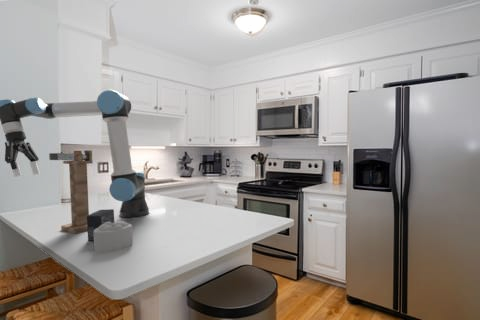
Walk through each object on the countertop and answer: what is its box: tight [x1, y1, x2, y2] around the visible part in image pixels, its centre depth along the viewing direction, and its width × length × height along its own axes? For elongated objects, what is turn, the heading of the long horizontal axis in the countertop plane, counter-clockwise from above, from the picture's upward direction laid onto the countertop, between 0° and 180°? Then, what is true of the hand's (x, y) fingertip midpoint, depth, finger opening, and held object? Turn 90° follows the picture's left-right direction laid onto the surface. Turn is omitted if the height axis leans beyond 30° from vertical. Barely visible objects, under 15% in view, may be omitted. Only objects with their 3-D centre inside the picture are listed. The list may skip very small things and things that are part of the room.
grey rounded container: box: [93, 220, 134, 253], centre depth 104 cm, size 10×13×9 cm
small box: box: [87, 208, 115, 242], centre depth 115 cm, size 11×6×10 cm, turn 178°
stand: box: [60, 149, 93, 235], centre depth 126 cm, size 12×11×36 cm
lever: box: [48, 152, 88, 161], centre depth 129 cm, size 26×3×3 cm, turn 62°
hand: (28, 175), depth 134 cm, fingers open, 13 cm apart
